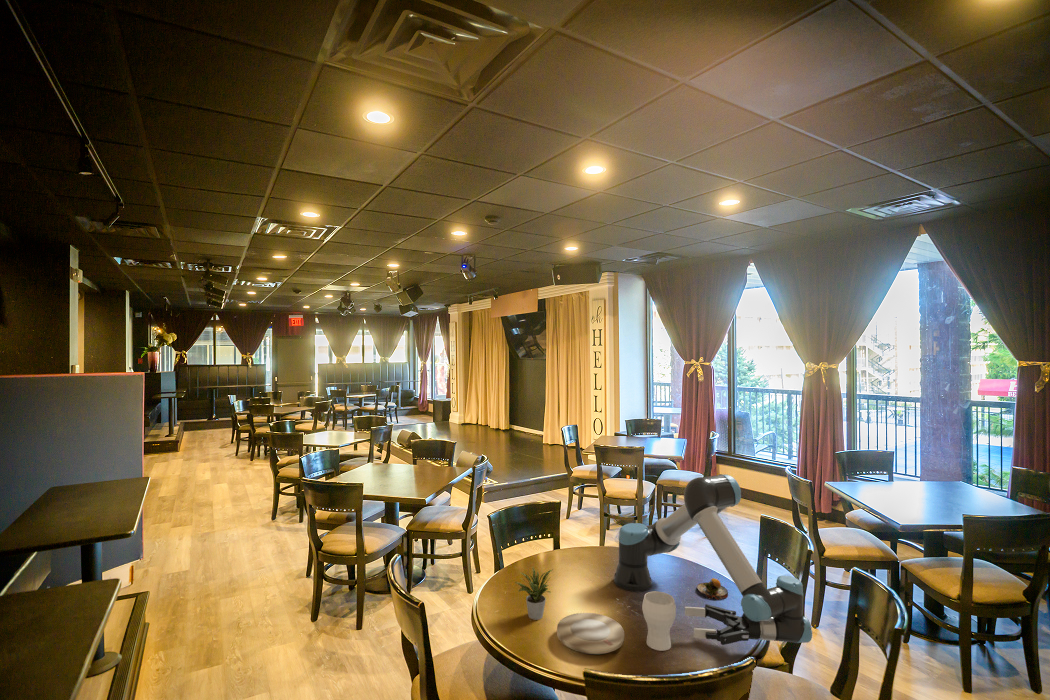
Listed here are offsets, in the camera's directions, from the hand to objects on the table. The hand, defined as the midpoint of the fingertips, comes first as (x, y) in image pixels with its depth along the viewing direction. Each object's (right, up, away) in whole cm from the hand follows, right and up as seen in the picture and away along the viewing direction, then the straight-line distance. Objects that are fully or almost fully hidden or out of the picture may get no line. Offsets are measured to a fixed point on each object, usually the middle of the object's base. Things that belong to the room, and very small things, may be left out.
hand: (689, 621), depth 164 cm
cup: (-10, -8, +1) cm, 13 cm away
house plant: (-49, -8, +19) cm, 53 cm away
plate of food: (+21, -9, +38) cm, 45 cm away
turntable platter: (-32, -6, +3) cm, 32 cm away
